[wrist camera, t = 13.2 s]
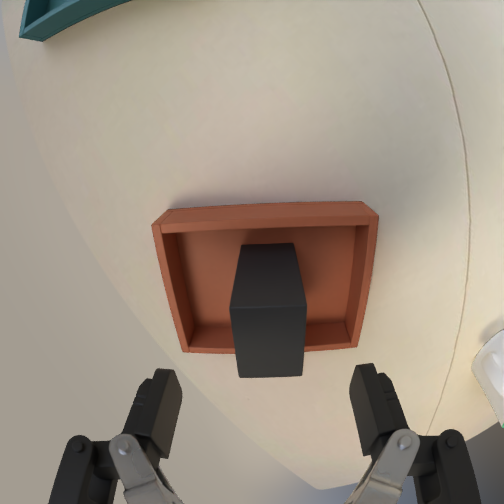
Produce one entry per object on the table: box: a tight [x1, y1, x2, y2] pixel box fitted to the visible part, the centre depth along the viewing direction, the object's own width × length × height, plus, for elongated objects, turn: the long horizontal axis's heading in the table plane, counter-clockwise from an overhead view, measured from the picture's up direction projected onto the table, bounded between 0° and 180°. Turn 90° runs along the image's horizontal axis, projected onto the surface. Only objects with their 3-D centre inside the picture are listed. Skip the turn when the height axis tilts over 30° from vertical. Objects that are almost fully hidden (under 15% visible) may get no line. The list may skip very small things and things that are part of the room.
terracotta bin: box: [151, 201, 379, 354], centre depth 19 cm, size 13×10×3 cm
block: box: [229, 243, 307, 378], centre depth 16 cm, size 4×5×7 cm
